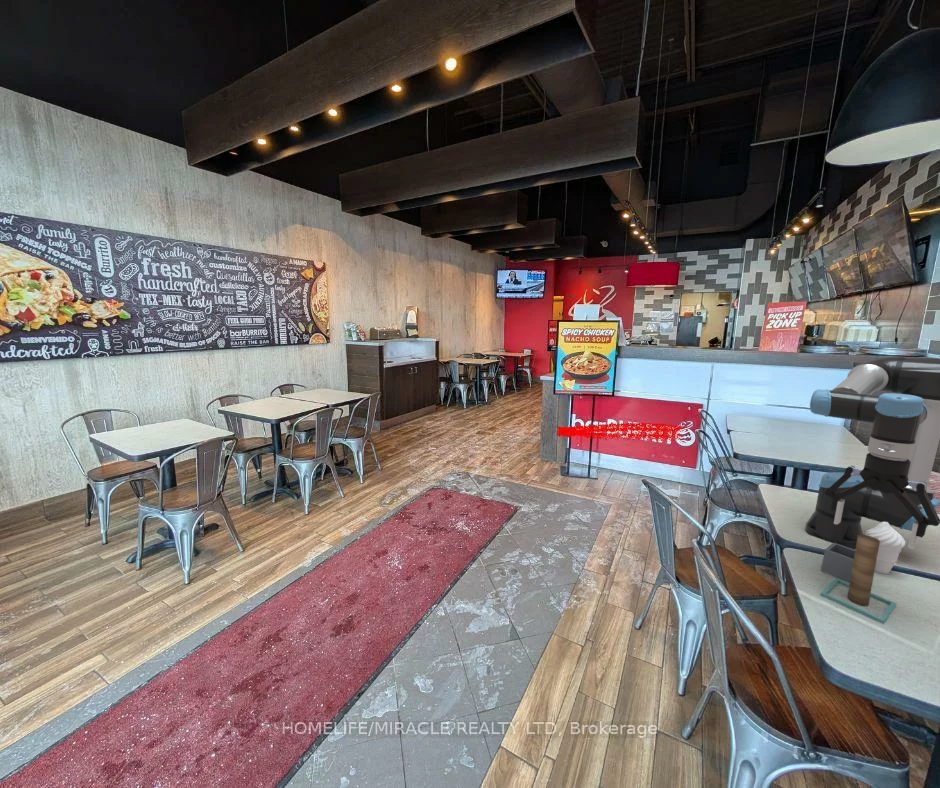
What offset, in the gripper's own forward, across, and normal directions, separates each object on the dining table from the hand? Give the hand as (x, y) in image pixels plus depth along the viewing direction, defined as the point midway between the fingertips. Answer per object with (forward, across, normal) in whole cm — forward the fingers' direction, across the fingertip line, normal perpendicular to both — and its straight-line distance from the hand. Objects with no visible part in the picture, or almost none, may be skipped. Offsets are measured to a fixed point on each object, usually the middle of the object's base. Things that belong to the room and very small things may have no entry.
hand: (871, 534), depth 99 cm
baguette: (+19, 0, -1) cm, 19 cm away
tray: (+20, 0, -1) cm, 20 cm away
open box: (+20, -6, +11) cm, 24 cm away
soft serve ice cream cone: (+21, -1, +24) cm, 32 cm away
